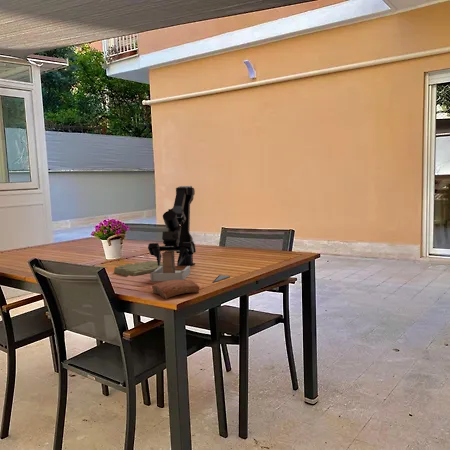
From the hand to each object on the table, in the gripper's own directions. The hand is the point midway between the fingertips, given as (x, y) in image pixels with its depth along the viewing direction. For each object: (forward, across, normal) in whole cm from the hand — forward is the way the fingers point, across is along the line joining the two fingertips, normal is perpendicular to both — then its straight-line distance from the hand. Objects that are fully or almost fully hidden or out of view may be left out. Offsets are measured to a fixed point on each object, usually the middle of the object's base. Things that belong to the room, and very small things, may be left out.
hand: (168, 265), depth 183 cm
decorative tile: (-9, -18, +20) cm, 28 cm away
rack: (+2, 0, +8) cm, 8 cm away
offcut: (-2, 0, +10) cm, 10 cm away
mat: (+1, +17, +8) cm, 19 cm away
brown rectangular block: (+4, 0, +6) cm, 7 cm away
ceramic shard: (+18, +6, -7) cm, 20 cm away
